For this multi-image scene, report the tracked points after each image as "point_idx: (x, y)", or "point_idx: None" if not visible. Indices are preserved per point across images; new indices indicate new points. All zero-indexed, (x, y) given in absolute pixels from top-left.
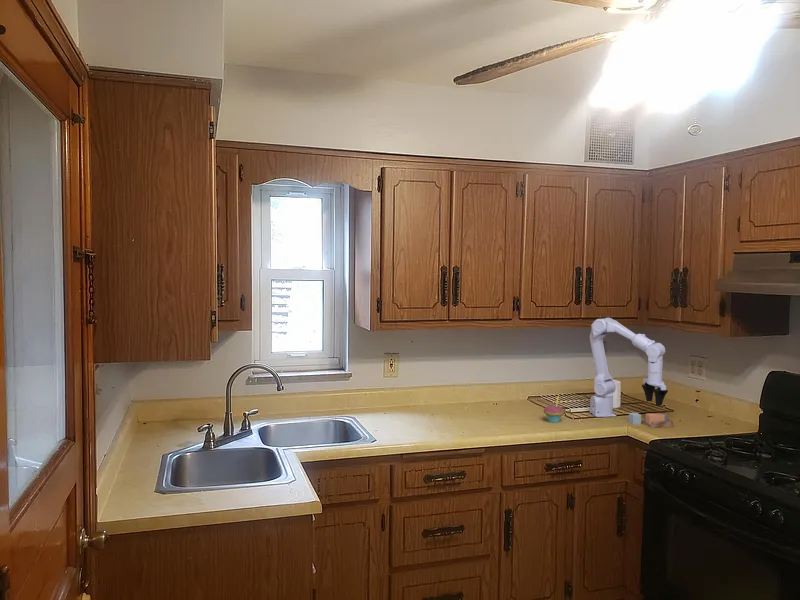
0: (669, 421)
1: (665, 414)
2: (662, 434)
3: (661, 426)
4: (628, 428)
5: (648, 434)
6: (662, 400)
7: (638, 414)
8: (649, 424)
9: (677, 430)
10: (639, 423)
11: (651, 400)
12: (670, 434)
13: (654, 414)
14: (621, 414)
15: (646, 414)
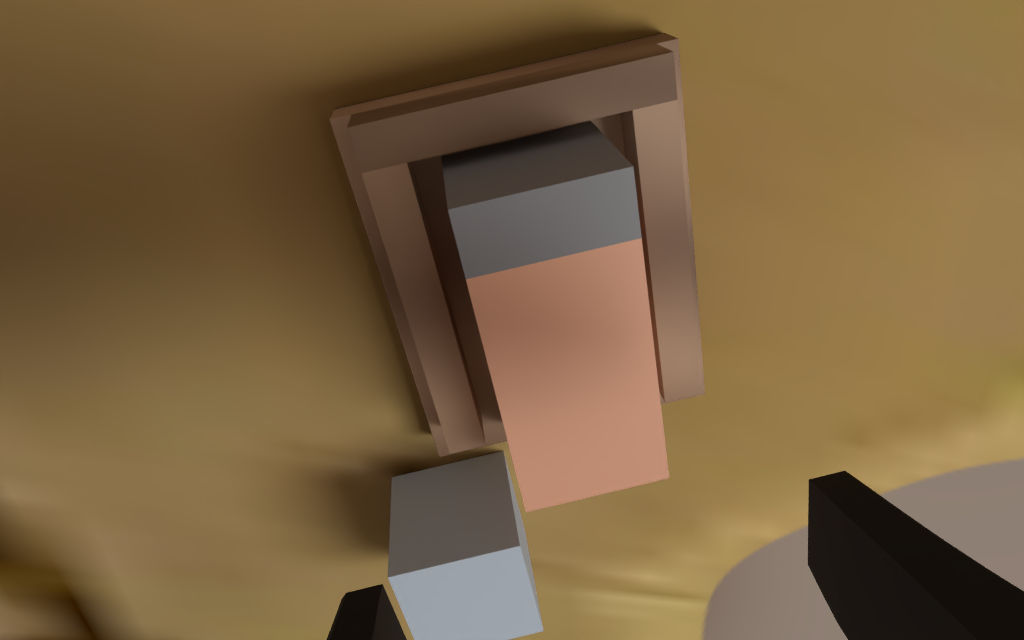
0: (649, 118)
1: (570, 200)
2: (977, 313)
3: (689, 248)
4: (695, 587)
5: (938, 455)
6: (964, 568)
7: (482, 570)
8: None
9: (845, 35)
10: (508, 472)
11: (384, 607)
12: (1004, 215)
13: (580, 399)
14: (13, 584)
15: (552, 500)
